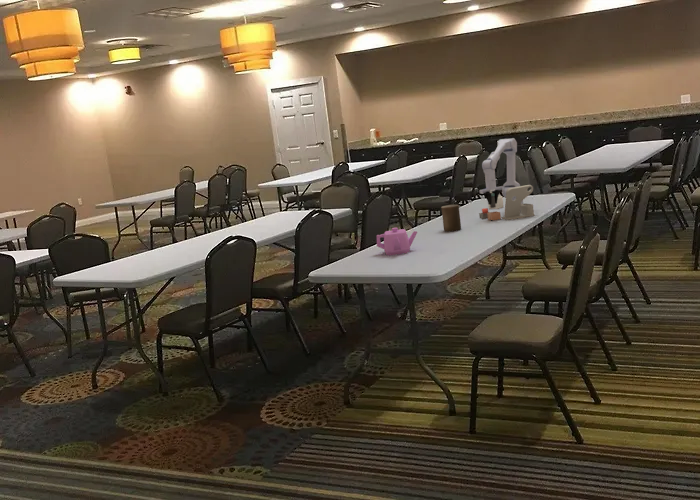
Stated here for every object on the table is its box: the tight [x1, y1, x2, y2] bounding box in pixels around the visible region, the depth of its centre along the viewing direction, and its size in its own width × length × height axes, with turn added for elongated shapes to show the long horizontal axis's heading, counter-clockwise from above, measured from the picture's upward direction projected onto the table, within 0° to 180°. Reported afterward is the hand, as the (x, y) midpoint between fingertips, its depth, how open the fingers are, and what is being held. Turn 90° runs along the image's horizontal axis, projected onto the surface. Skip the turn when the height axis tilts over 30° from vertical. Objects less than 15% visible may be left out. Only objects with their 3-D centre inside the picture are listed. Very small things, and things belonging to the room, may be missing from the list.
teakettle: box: [376, 227, 418, 256], centre depth 363 cm, size 17×17×12 cm
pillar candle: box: [440, 204, 462, 232], centre depth 404 cm, size 10×10×15 cm
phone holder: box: [501, 184, 535, 221], centre depth 417 cm, size 17×10×18 cm, turn 106°
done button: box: [481, 207, 489, 214], centre depth 430 cm, size 3×3×3 cm
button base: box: [478, 211, 491, 220], centre depth 430 cm, size 6×6×3 cm
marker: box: [490, 193, 496, 208], centre depth 419 cm, size 3×3×8 cm
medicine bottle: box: [487, 190, 504, 210], centre depth 462 cm, size 7×7×12 cm
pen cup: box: [487, 211, 502, 221], centre depth 421 cm, size 6×6×4 cm
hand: (492, 203), depth 420 cm, fingers closed on marker, 3 cm apart
